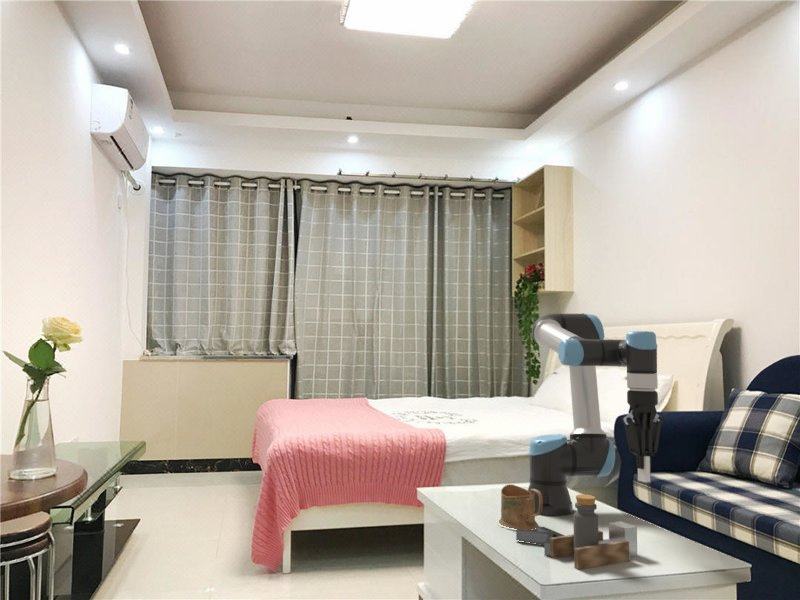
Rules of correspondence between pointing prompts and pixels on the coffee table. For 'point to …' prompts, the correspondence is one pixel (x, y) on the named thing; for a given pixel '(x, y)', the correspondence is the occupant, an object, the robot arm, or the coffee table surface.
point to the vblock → (538, 537)
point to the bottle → (585, 522)
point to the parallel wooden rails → (590, 551)
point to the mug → (519, 507)
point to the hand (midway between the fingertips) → (644, 481)
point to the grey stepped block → (623, 535)
